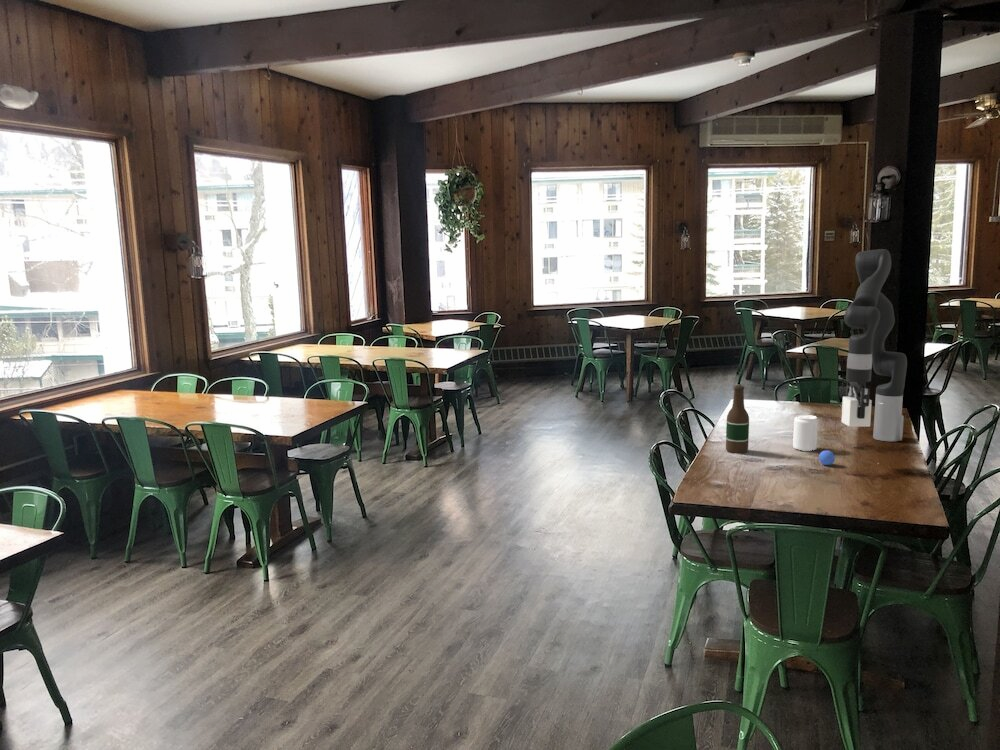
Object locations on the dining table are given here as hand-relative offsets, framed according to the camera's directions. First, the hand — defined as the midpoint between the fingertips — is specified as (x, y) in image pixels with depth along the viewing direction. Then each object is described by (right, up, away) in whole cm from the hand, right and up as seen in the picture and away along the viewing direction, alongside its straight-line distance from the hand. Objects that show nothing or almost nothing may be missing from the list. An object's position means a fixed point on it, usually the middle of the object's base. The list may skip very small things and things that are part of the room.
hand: (856, 415), depth 270 cm
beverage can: (-8, -13, +24) cm, 29 cm away
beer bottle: (-33, -14, +23) cm, 43 cm away
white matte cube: (0, -3, 0) cm, 3 cm away
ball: (-9, -14, +3) cm, 17 cm away
